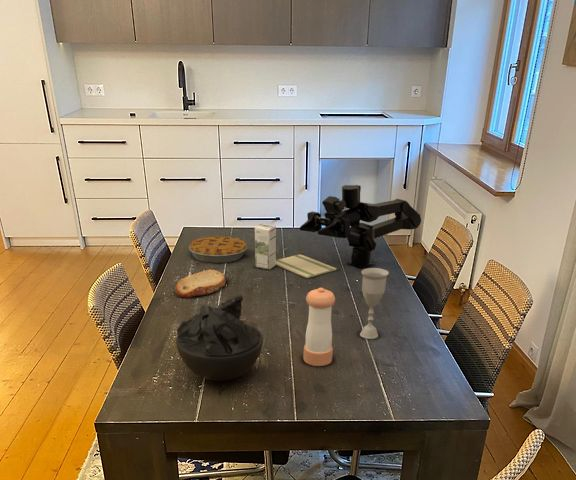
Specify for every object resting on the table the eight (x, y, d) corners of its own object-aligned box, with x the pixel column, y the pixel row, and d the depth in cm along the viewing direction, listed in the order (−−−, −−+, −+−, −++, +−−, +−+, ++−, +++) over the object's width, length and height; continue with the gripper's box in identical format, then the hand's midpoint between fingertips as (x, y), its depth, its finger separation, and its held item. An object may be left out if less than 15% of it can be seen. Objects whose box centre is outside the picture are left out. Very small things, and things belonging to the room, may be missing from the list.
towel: (299, 255, 221) (300, 253, 220) (336, 269, 207) (336, 268, 207) (270, 262, 213) (270, 261, 212) (307, 278, 200) (307, 276, 199)
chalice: (364, 342, 158) (370, 278, 149) (351, 332, 163) (356, 270, 154) (387, 337, 161) (394, 274, 152) (372, 327, 166) (379, 266, 157)
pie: (245, 265, 210) (245, 251, 208) (184, 263, 210) (183, 250, 208) (249, 246, 229) (249, 234, 227) (193, 245, 229) (193, 232, 227)
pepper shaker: (299, 363, 147) (301, 291, 137) (308, 350, 153) (311, 281, 143) (327, 368, 145) (331, 295, 135) (335, 355, 151) (340, 285, 141)
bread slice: (221, 274, 201) (221, 264, 199) (234, 293, 186) (234, 282, 184) (169, 279, 196) (168, 269, 194) (178, 299, 181) (177, 288, 179)
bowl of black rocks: (192, 404, 129) (186, 326, 120) (170, 364, 145) (163, 292, 135) (275, 387, 136) (276, 312, 127) (246, 351, 152) (245, 282, 142)
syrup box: (276, 265, 210) (276, 225, 203) (269, 270, 206) (269, 229, 199) (262, 262, 213) (262, 222, 205) (254, 267, 208) (254, 227, 201)
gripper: (324, 192, 201) (288, 202, 194) (362, 197, 188) (325, 209, 180) (326, 224, 207) (292, 235, 199) (363, 232, 193) (328, 244, 186)
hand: (309, 230), depth 191 cm, fingers open, 9 cm apart
